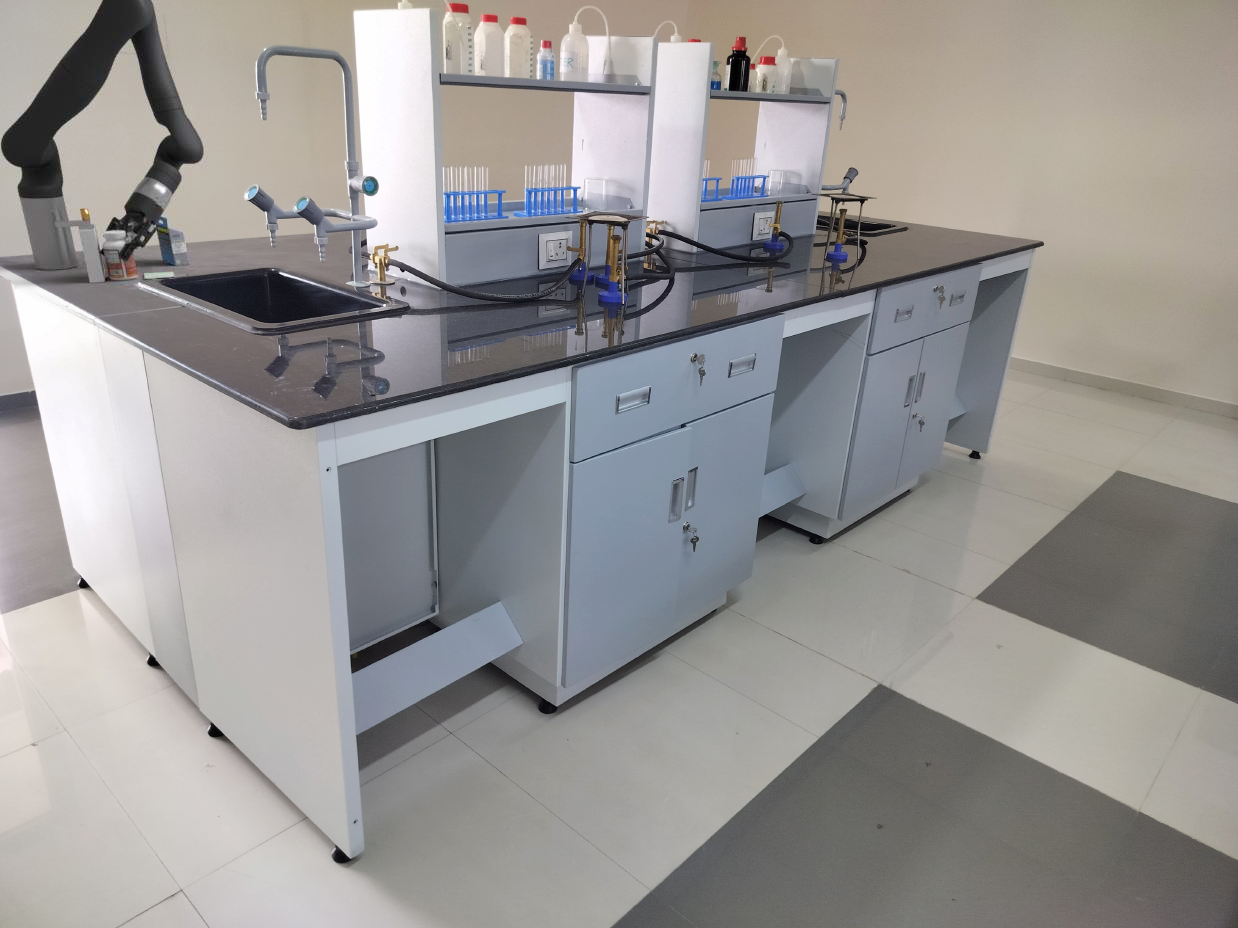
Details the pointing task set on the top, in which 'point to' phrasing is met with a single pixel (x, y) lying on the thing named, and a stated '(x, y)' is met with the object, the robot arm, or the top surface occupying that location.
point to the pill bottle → (114, 263)
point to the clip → (83, 222)
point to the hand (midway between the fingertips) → (113, 257)
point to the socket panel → (92, 253)
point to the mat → (158, 275)
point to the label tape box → (171, 244)
